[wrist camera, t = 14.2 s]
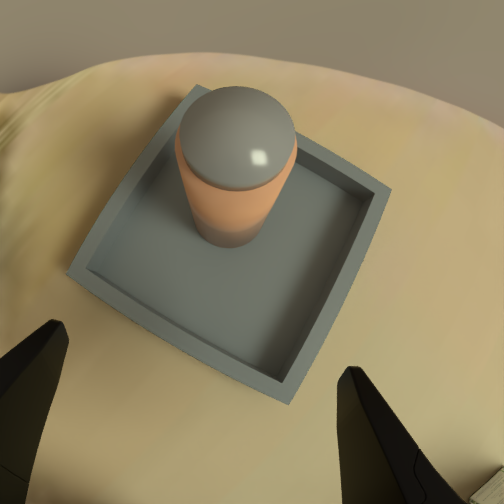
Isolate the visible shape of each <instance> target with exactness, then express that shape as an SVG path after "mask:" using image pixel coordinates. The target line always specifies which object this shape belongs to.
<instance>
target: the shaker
mask: <svg viewBox="0 0 504 504" xmlns="http://www.w3.org/2000/svg"><path fill="white" fill-rule="evenodd" d="M175 153H176V158H177V162H178V166H179V169H180V173H181V177H182V181H183V184H184V188H185V191H186V195H187V199H188V202H189V206H190V209H191V213H192V216H193V220H194V223H195V226H196V228H197V230H198V232H199V233H200V235H201V236H202V237H203V238H204V239H205V240H206V241H207V242H209V243H211V244H213V245H215V246H217V247H221V248H237V247H241V246H243V245H245V244H247V243H249V242H250V241H252V240H253V239H254V238H255V237H256V236H257V235H258V233H259V232H260V230H261V228H262V226H263V224H264V222H265V220H266V218H267V216H268V214H269V212H270V210H271V209H272V207H273V205H274V203H275V201H276V199H277V197H278V195H279V193H280V191H281V189H282V187H283V185H284V183H285V181H286V179H287V177H288V175H289V173H290V171H291V169H292V167H293V165H294V163H295V159H296V155H297V140H296V135H295V129H294V124H293V122H292V119H291V117H290V115H289V113H288V112H287V110H286V109H285V108H284V107H283V106H282V105H281V104H280V103H279V102H278V101H277V100H276V99H274V98H273V97H271V96H270V95H268V94H266V93H264V92H262V91H259V90H256V89H253V88H248V87H239V86H232V87H223V88H219V89H216V90H213V91H210V92H208V93H206V94H204V95H202V96H201V97H199V98H198V99H197V100H196V101H194V102H193V103H192V104H191V105H190V107H189V108H188V109H187V111H186V112H185V114H184V116H183V118H182V121H181V123H180V125H179V128H178V130H177V133H176V138H175Z"/></svg>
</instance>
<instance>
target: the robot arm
mask: <svg viewBox="0 0 504 504" xmlns="http://www.w3.org/2000/svg"><path fill="white" fill-rule="evenodd" d="M68 344H69V338H68V335H67V332H66V329H65V326H64V324H63V322H61V321H58V320H54V319H51V320H49V321H48V322H46V323H45V324H44V325H42V326H41V327H40V328H38V329H37V330H36V331H34V332H33V333H32V334H31V335H29V336H28V337H27V338H25V339H24V340H23V341H22V342H20V343H19V344H18V345H16V346H15V347H14V348H13V349H11V350H10V351H9V352H8V353H6V354H5V355H4V356H3V357H1V358H0V504H25V501H26V496H27V491H28V486H29V484H28V483H29V481H30V477H31V473H32V469H33V465H34V461H35V457H36V453H37V449H38V446H39V442H40V439H41V435H42V432H43V429H44V425H45V422H46V419H47V416H48V413H49V410H50V407H51V404H52V401H53V398H54V395H55V392H56V389H57V386H58V383H59V379H60V375H61V371H62V367H63V363H64V359H65V355H66V352H67V348H68ZM337 438H338V449H339V461H340V475H341V490H342V504H468V503H466V502H465V501H464V500H462V499H461V498H460V497H459V496H458V494H457V493H456V492H455V491H454V490H453V489H452V488H451V487H450V485H449V484H448V483H447V482H446V481H445V480H444V479H443V478H442V476H441V475H440V474H439V473H438V472H437V471H436V469H435V468H434V467H433V466H432V464H431V463H430V462H429V460H428V459H427V458H426V456H425V455H424V454H423V452H422V451H421V449H418V448H419V447H418V445H417V444H416V442H415V441H414V440H413V438H412V437H411V435H410V434H409V433H408V431H407V430H406V428H405V427H404V426H403V424H402V423H401V422H400V420H399V419H398V417H397V416H396V415H395V413H394V412H393V410H392V409H391V408H390V406H389V405H388V404H387V402H386V401H385V399H384V398H383V397H382V395H381V394H380V393H379V391H378V390H377V388H376V387H375V386H374V384H373V383H372V382H371V380H370V379H369V378H368V376H367V375H366V373H365V372H364V371H363V369H362V368H361V367H358V366H349V367H347V368H346V369H345V371H344V373H343V374H342V376H341V377H340V378H339V380H338V384H337Z"/></svg>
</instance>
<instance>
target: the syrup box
mask: <svg viewBox="0 0 504 504" xmlns="http://www.w3.org/2000/svg"><path fill="white" fill-rule="evenodd" d="M469 504H504V467H503V468H502V469H501V470H500V471H498V472H497V473H496V474H495V475H494V476H493V477H492V478H491V479H490V480H489V481H488V482H487V483H486V484H484V485H483V486H482V487H481V488H480V489H479V490H478V491H477V492H476V493H474V494H473V495H472V496H471V497H470V498H469Z"/></svg>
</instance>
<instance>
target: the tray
mask: <svg viewBox="0 0 504 504" xmlns="http://www.w3.org/2000/svg"><path fill="white" fill-rule="evenodd" d="M210 91H211V90H209V89H207V88H204V87H202V86H200V85H197V84H196V86H195V87H194V88H193V89H192V90H191V91H190V92H189V94H188V95H187V96H186V97H185V98H184V99H183V101H182V102H181V103H180V104H179V105H178V107H177V108H176V109H175V110H174V112H173V113H172V114H171V115H170V116H169V118H168V119H167V120H166V121H165V123H164V124H163V125H162V127H161V128H160V129H159V130H158V132H157V133H156V134H155V136H154V137H153V138H152V139H151V141H150V142H149V143H148V145H147V146H146V147H145V149H144V150H143V152H142V153H141V154H140V156H139V157H138V158H137V160H136V161H135V163H134V164H133V165H132V167H131V168H130V170H129V171H128V173H127V174H126V175H125V177H124V178H123V180H122V181H121V183H120V184H119V186H118V187H117V189H116V190H115V192H114V193H113V195H112V196H111V198H110V199H109V201H108V203H107V204H106V206H105V207H104V209H103V210H102V212H101V214H100V215H99V217H98V218H97V220H96V222H95V223H94V225H93V227H92V228H91V230H90V232H89V233H88V235H87V237H86V239H85V240H84V242H83V244H82V246H81V247H80V249H79V251H78V253H77V254H76V256H75V258H74V260H73V262H72V264H71V265H70V267H69V269H68V271H67V273H66V275H68V276H69V277H70V278H72V279H73V280H74V281H76V282H77V283H78V284H80V285H81V286H83V287H84V288H85V289H87V290H88V291H90V292H91V293H92V294H94V295H95V296H97V297H98V298H100V299H101V300H102V301H104V302H105V303H107V304H108V305H110V306H111V307H113V308H114V309H116V310H117V311H119V312H120V313H122V314H123V315H125V316H126V317H128V318H129V319H131V320H132V321H134V322H136V323H137V324H139V325H140V326H142V327H143V328H145V329H147V330H148V331H150V332H152V333H153V334H155V335H156V336H158V337H160V338H161V339H163V340H165V341H166V342H168V343H170V344H171V345H173V346H175V347H177V348H178V349H180V350H182V351H183V352H185V353H187V354H189V355H190V356H192V357H194V358H196V359H198V360H199V361H201V362H203V363H205V364H207V365H208V366H210V367H212V368H214V369H216V370H218V371H220V372H222V373H223V374H225V375H227V376H229V377H231V378H233V379H235V380H237V381H239V382H241V383H243V384H245V385H247V386H249V387H251V388H253V389H255V390H257V391H259V392H261V393H263V394H266V395H268V396H270V397H272V398H274V399H276V400H278V401H281V402H283V403H285V404H287V405H289V404H290V402H291V400H292V399H293V397H294V395H295V394H296V392H297V390H298V388H299V387H300V385H301V383H302V381H303V379H304V378H305V376H306V374H307V372H308V371H309V369H310V367H311V365H312V363H313V361H314V360H315V358H316V356H317V354H318V352H319V350H320V348H321V346H322V345H323V343H324V341H325V339H326V337H327V335H328V333H329V331H330V329H331V327H332V325H333V323H334V321H335V319H336V317H337V315H338V313H339V311H340V309H341V307H342V305H343V303H344V301H345V299H346V296H347V294H348V292H349V290H350V288H351V286H352V284H353V282H354V279H355V277H356V275H357V273H358V271H359V268H360V266H361V264H362V262H363V259H364V257H365V255H366V252H367V250H368V248H369V245H370V243H371V241H372V238H373V236H374V233H375V231H376V229H377V226H378V224H379V221H380V219H381V216H382V214H383V211H384V209H385V206H386V204H387V201H388V198H389V196H390V193H391V190H392V189H390V188H389V187H387V186H386V185H384V184H383V183H381V182H380V181H378V180H377V179H375V178H374V177H372V176H370V175H369V174H367V173H366V172H364V171H363V170H361V169H359V168H358V167H356V166H355V165H353V164H351V163H350V162H348V161H346V160H345V159H343V158H341V157H340V156H338V155H336V154H335V153H333V152H331V151H330V150H328V149H326V148H324V147H323V146H321V145H319V144H317V143H316V142H314V141H312V140H310V139H309V138H307V137H305V136H303V135H301V134H299V133H298V132H296V131H295V135H296V140H297V155H296V159H295V163H294V165H293V167H292V169H291V171H290V173H289V175H288V177H287V179H286V181H285V183H284V185H283V187H282V189H281V191H280V193H279V195H278V197H277V199H276V201H275V203H274V205H273V207H272V209H271V210H270V212H269V214H268V216H267V218H266V220H265V222H264V224H263V226H262V228H261V230H260V232H259V233H258V235H257V236H256V237H255V238H254V239H253V240H252V241H250V242H249V243H247V244H245V245H243V246H241V247H237V248H221V247H217V246H215V245H213V244H211V243H209V242H207V241H206V240H205V239H204V238H203V237H202V236H201V235H200V233H199V232H198V230H197V228H196V226H195V223H194V220H193V216H192V213H191V209H190V206H189V202H188V199H187V195H186V191H185V188H184V184H183V181H182V177H181V173H180V169H179V166H178V162H177V158H176V153H175V138H176V133H177V130H178V128H179V125H180V123H181V121H182V118H183V116H184V114H185V112H186V111H187V109H188V108H189V107H190V105H191V104H192V103H193V102H194V101H196V100H197V99H198V98H199V97H201V96H202V95H204V94H206V93H208V92H210Z"/></svg>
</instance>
